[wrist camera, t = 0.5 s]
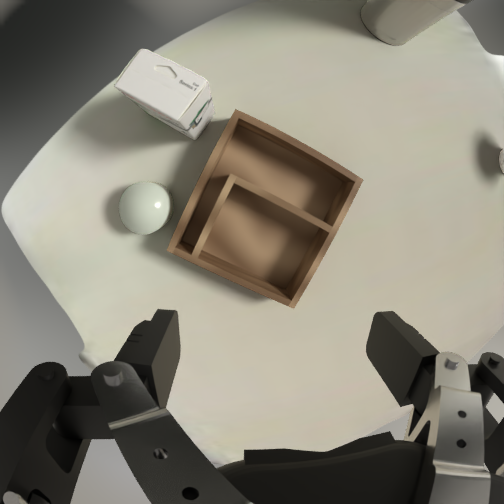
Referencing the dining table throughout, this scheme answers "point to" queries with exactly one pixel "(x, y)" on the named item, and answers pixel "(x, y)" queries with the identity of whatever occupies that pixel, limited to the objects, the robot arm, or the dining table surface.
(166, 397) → the robot arm
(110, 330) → the dining table surface
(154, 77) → the ink box
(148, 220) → the white domed round part
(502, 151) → the cup
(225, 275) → the organizer
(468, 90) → the dining table surface
